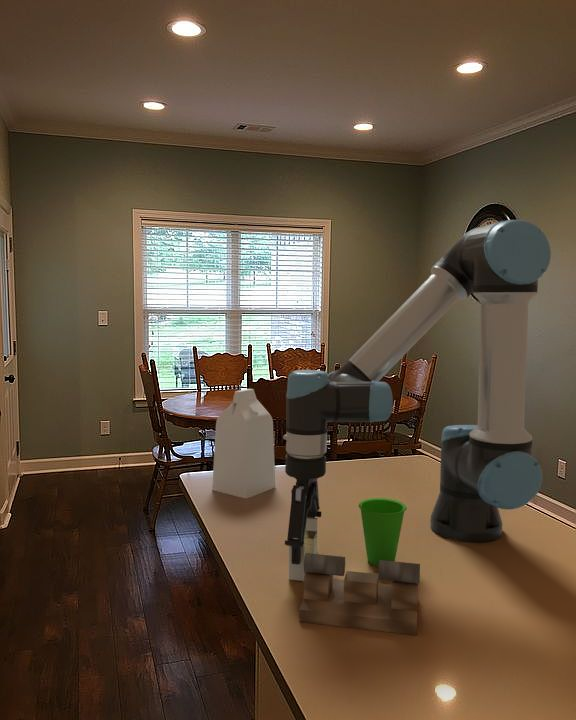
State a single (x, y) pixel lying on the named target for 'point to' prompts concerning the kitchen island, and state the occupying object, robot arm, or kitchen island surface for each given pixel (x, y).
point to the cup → (381, 527)
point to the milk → (244, 448)
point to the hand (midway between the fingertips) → (303, 564)
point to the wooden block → (310, 542)
